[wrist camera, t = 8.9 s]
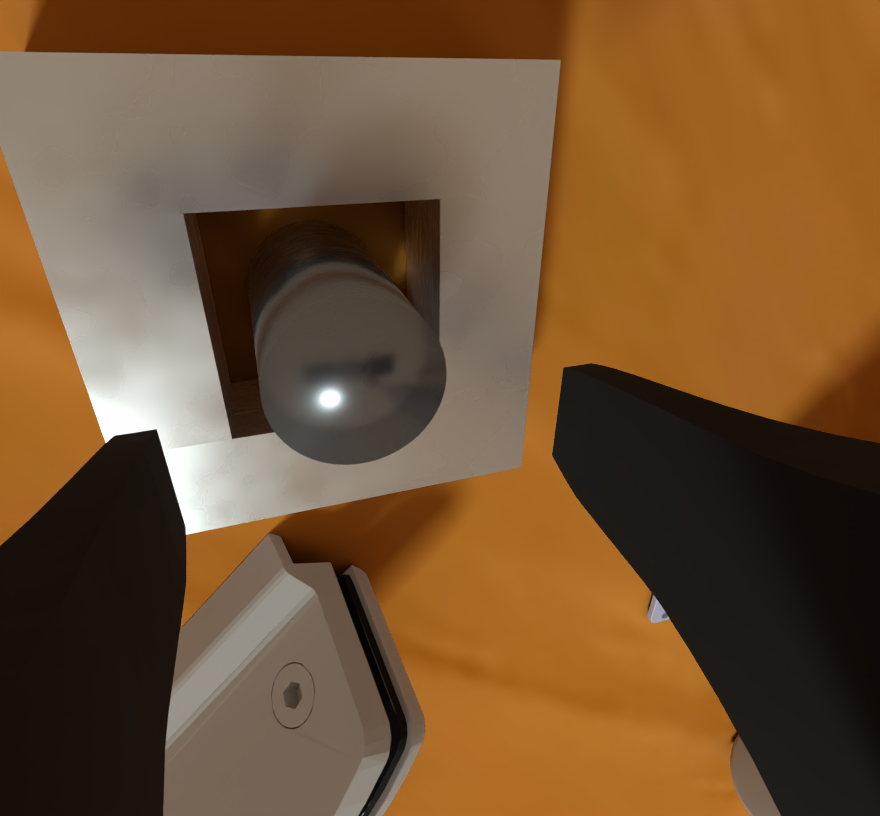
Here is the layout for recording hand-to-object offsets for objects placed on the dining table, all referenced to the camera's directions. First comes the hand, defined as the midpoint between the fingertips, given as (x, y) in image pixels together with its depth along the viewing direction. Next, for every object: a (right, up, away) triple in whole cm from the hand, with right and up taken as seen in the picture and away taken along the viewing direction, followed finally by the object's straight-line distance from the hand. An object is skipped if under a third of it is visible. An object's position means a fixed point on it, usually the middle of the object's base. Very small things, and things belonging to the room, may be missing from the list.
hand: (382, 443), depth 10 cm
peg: (-3, +5, +8) cm, 9 cm away
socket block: (-3, +5, +8) cm, 9 cm away
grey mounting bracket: (-9, -12, +16) cm, 21 cm away
